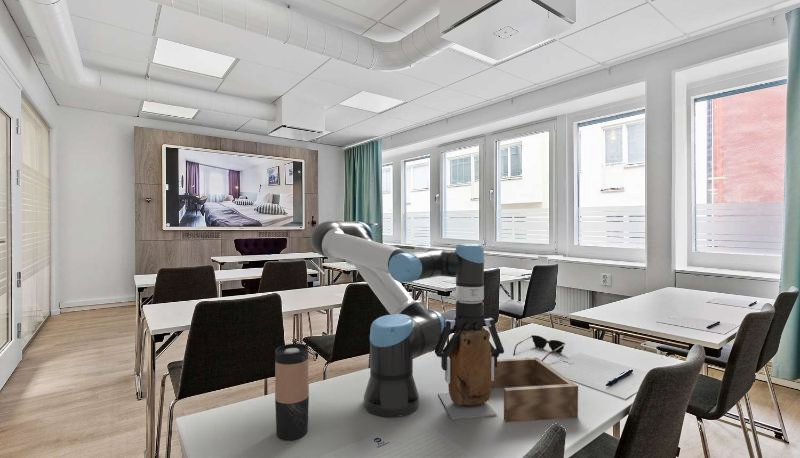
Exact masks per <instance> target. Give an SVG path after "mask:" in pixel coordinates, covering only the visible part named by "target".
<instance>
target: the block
mask: <svg viewBox="0 0 800 458" xmlns="http://www.w3.org/2000/svg"><path fill="white" fill-rule="evenodd" d="M456 329H457V332H458V333H459V332H460V331H461V330H459V329H458V328H457V327H456ZM459 339H460V340H459V341H458V343H457V344H456V346H455V347H454V349H453V350H452V352H451V353H450V355H449V358H450V383H449V384H447V385H448V386H447V387H448V393H449V394H450V397H451V400H452V401H453V402H454V403H455V404H458V405H464V404H467V405H475V404H482V403H484V402H487V403H488V401H489V400H490V398H491V391H492V388H491V346H490V343H491V341H490V339H491V333H490V331H489V330H488V329H486V328H485V327H484V326H483V328H482V330H465V331H462V334H460V338H459ZM489 341H490V342H489Z"/></svg>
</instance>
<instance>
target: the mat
mask: <svg viewBox="0 0 800 458" xmlns="http://www.w3.org/2000/svg"><path fill="white" fill-rule="evenodd" d="M437 396H438V398H439V399H440V400H441V403H442V404H443V406H444V408H445V410H446V411H447V414H448V415H450V416H449V417H450V419H451V420H460V419H461V420H463V419H472V418H473V419H474V418H476V419H477V418H485V417H486V418H487V417H497V416H498V414H497V412H496V411H495V410H494V409H493V408H492V406H491V405H490V404H489V402H488V401H487V402H484V403H482V404H475V405H467V404H464V405H458V404H455V403H454V402H453V401H452V400H451V397H450V394H449V392H441V393H437Z"/></svg>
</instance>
